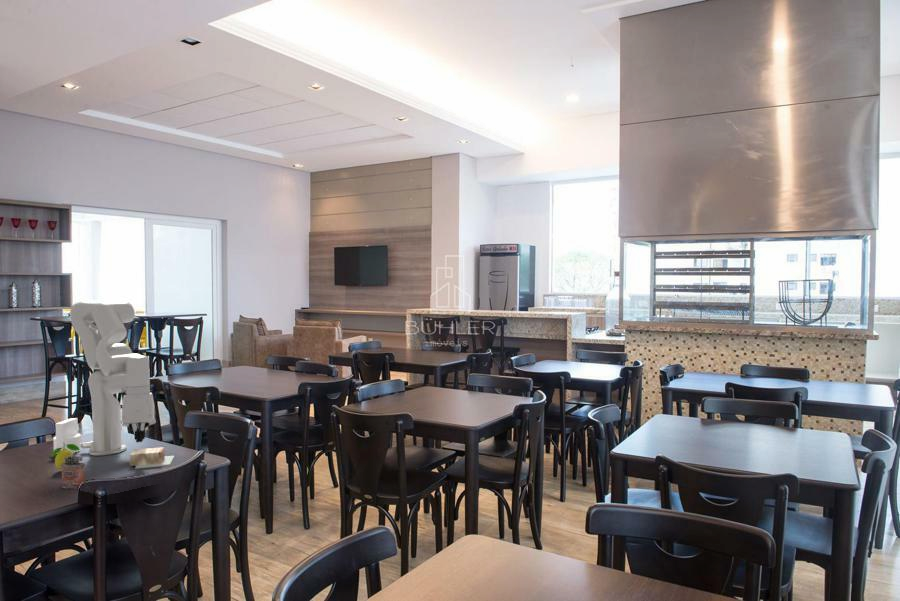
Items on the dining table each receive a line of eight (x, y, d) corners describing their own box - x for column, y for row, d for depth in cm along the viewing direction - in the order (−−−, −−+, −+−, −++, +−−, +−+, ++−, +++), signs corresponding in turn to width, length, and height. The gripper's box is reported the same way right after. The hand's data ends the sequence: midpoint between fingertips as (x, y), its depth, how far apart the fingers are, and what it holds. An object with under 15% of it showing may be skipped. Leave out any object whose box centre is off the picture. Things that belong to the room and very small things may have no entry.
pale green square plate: (135, 468, 209) (135, 467, 209) (141, 459, 220) (141, 458, 220) (169, 465, 212) (169, 464, 212) (174, 456, 223) (174, 455, 223)
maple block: (129, 454, 210) (160, 452, 213) (134, 449, 217) (164, 447, 220) (130, 466, 210) (161, 463, 213) (134, 460, 217) (164, 457, 220)
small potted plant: (58, 487, 190) (57, 456, 190) (67, 484, 194) (66, 453, 193) (79, 489, 188) (78, 458, 188) (88, 486, 192) (87, 455, 191)
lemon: (80, 468, 210) (79, 440, 209) (65, 474, 204) (64, 445, 204) (65, 467, 212) (64, 439, 211) (50, 472, 206) (49, 443, 206)
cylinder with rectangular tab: (71, 454, 227) (70, 423, 227) (48, 455, 227) (47, 423, 227) (86, 448, 236) (85, 418, 236) (63, 448, 236) (62, 418, 236)
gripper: (112, 393, 208) (113, 446, 209) (159, 390, 212) (160, 442, 213) (117, 390, 215) (119, 440, 216) (162, 387, 219) (164, 437, 220)
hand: (139, 441), depth 214 cm, fingers closed
